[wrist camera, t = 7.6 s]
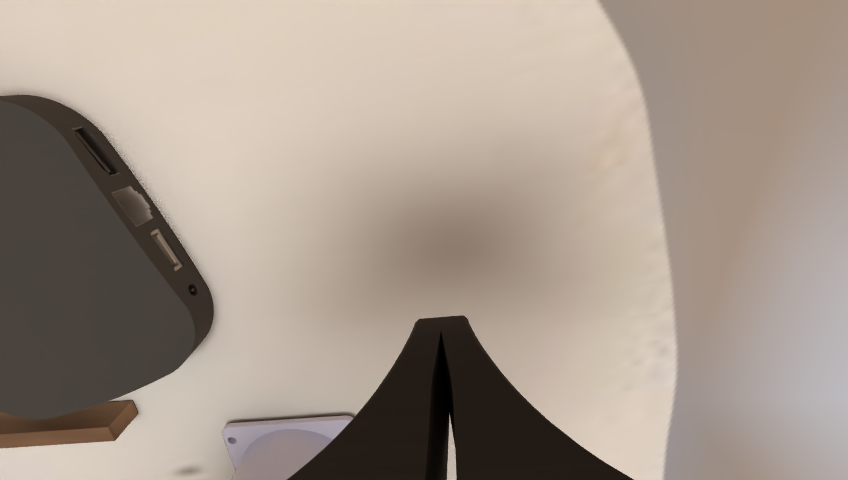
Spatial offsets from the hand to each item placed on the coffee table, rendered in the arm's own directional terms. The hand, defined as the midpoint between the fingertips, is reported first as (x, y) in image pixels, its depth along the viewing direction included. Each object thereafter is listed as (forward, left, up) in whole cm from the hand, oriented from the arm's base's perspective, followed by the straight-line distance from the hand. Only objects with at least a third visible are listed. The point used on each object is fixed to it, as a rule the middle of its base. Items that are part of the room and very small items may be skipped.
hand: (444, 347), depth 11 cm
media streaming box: (0, +20, -10) cm, 23 cm away
